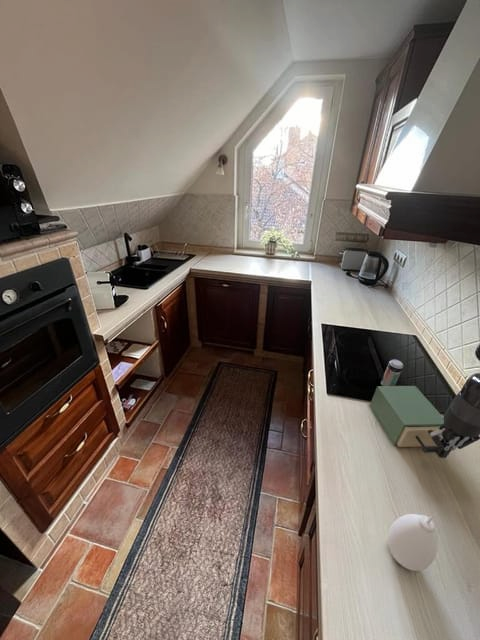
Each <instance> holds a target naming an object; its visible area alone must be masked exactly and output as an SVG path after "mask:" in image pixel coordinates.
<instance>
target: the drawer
mask: <svg viewBox="0 0 480 640" xmlns="http://www.w3.org/2000/svg"><path fill="white" fill-rule="evenodd" d="M439 427H440V426H423V427H405V429H404V431H403V432H402V434H401V436H400V438H399V440H398V442H397V445H396V446H397V447H399V448H407V447H408V448H411V447H412V448H413V447H415V448H416V447H422V448H421V449H422V452H423V453H425V454H430V453H431V454H432V453H434V454H436V452H435V449H436V448H437V445H436V444H435V443H434V441H433V440H432V438H431V436H430V435H429V433H428V430H433V431H437V430H439Z"/></svg>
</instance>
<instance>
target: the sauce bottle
mask: <svg viewBox="0 0 480 640" xmlns="http://www.w3.org/2000/svg"><path fill="white" fill-rule="evenodd" d="M433 518H434V515H431V516H427V515H424V514H418V513H417V514H416V513H409V514H403V515H401V516H400V517H398V518H397V519H395V520H394V521H393V523H392V524H391V526H390V528H389V530H388V534H387V545H388V549H389V552H390V554H391V556H392V557H393V558H394V560H395V561H396V562H397V563H398V564H399V565H400V566H402V567H404V568H405V569H407V570H409V571H414V572H420V571H424V570H426V569H427V568H429V567H430V566H431V565H432V563H433V562H434V561H435V559H436V556H437V553H438V547H439V540H438V534H437V530H436V525H435V523H434V521H433Z"/></svg>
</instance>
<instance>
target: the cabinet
mask: <svg viewBox="0 0 480 640" xmlns="http://www.w3.org/2000/svg"><path fill="white" fill-rule="evenodd" d="M369 407H370V408H371V409H372V412H373V413H374V415H375V417H376V418H377V420H378V421H379V423H380V425H381V426H382V428H383V430H384V431H385V433H386V434H387V436H388V439H390V441H391V443H392V444H393V446H398V445H397V442H398V440H399V438H400V436H401V434H402V432H403V431H404V429H405V427H413V426H441V425H442V424H443V423H444V416H443V415H442V414H441V413H440V412H439V411H438V410H437V408H436V407H435V406H434V405H433V404H432V403H431V402H430V400H428V399H427V398H426V396H425V395H424V394H423V392H422V391H420V389H419V388H418V387H417V386H416V385H395V386H382V385H380V386H376V388H375V392H374V394H373V396H372V399H371V400H370V404H369Z"/></svg>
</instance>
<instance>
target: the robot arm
mask: <svg viewBox="0 0 480 640" xmlns="http://www.w3.org/2000/svg"><path fill="white" fill-rule="evenodd" d="M474 356H475V357H476V359H477V360H478V361H479V362H480V343H479V344H478V345H476V348H475V350H474ZM443 418H444V423H443V424H442V425H441V426H440V427H439V430H437V431H433V430H428V433H429V435H430V436H431V438H432V440H433V441H434V443H435V444H436V445H437V446H436V447H437V448H436V449H435V454H436V455H437V456H438V458H440V459H446V458H447V457H448V456H449V455H450V453H451V452H452V451H455V450H456V449H457V450H461V449H464V448H465V447H468V446H470V445H472V444H473V443H476V442H477V441H479V440H480V372H475V373H473V374H471V375H470V376H469V377H468V378H467V380H466V381H465V383H464V384H463V386H462V388H461V389H460V390H459V392H458V393H457V394H456V395H455V396H454V398H453V399H452V400H451V403H450V404H449V406H448V407H447V409H446V410H445V412H444V414H443Z"/></svg>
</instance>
